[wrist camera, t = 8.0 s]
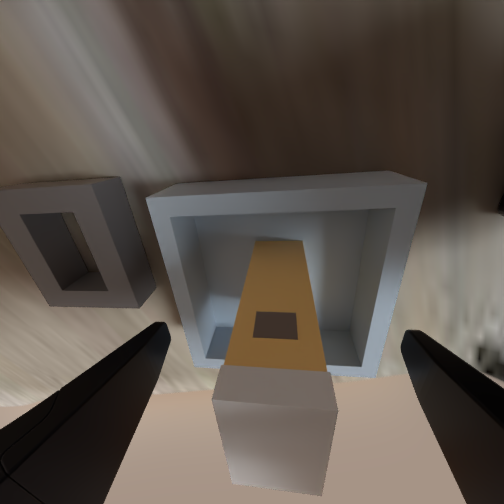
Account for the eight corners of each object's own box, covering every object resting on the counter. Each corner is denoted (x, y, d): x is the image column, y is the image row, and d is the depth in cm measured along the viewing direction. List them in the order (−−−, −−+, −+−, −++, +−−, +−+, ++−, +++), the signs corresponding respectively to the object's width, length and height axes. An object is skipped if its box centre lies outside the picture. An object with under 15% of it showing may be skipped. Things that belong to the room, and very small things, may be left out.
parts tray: (389, 170, 10) (427, 182, 7) (358, 333, 14) (375, 377, 12) (177, 183, 11) (145, 197, 9) (209, 328, 16) (194, 366, 13)
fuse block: (120, 176, 12) (91, 184, 10) (156, 287, 15) (139, 308, 13) (21, 183, 12) (-22, 191, 11) (76, 287, 16) (49, 306, 14)
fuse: (303, 239, 11) (338, 411, 4) (300, 303, 13) (321, 495, 6) (254, 240, 12) (211, 399, 5) (258, 302, 14) (232, 483, 6)
